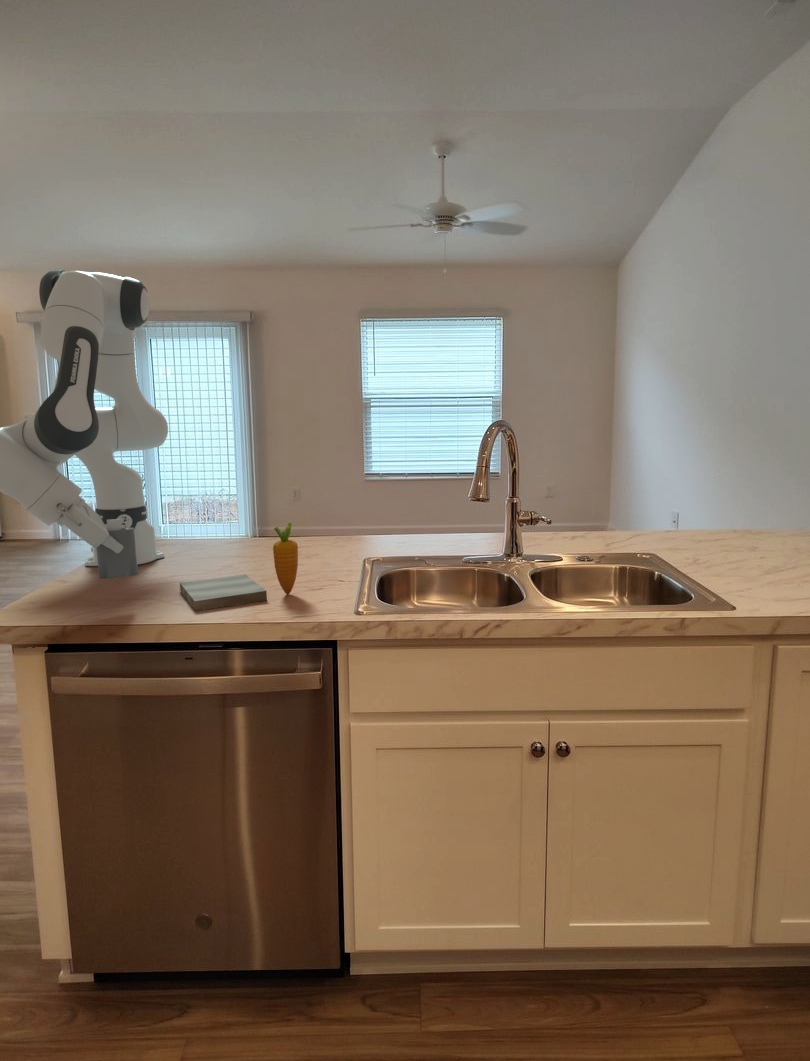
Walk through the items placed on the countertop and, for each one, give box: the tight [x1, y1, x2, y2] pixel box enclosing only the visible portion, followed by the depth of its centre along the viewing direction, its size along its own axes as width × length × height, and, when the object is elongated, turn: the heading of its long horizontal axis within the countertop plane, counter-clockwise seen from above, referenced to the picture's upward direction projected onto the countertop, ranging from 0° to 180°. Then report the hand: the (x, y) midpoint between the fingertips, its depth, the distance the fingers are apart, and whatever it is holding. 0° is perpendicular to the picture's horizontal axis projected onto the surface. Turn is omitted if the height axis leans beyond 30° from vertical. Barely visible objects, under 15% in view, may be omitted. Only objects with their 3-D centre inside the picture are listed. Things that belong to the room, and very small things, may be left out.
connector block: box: [96, 519, 139, 580], centre depth 129 cm, size 7×3×11 cm, turn 118°
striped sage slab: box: [179, 573, 268, 612], centre depth 138 cm, size 16×14×2 cm
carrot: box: [272, 521, 299, 596], centre depth 137 cm, size 5×5×15 cm
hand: (119, 547), depth 129 cm, fingers closed on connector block, 3 cm apart
